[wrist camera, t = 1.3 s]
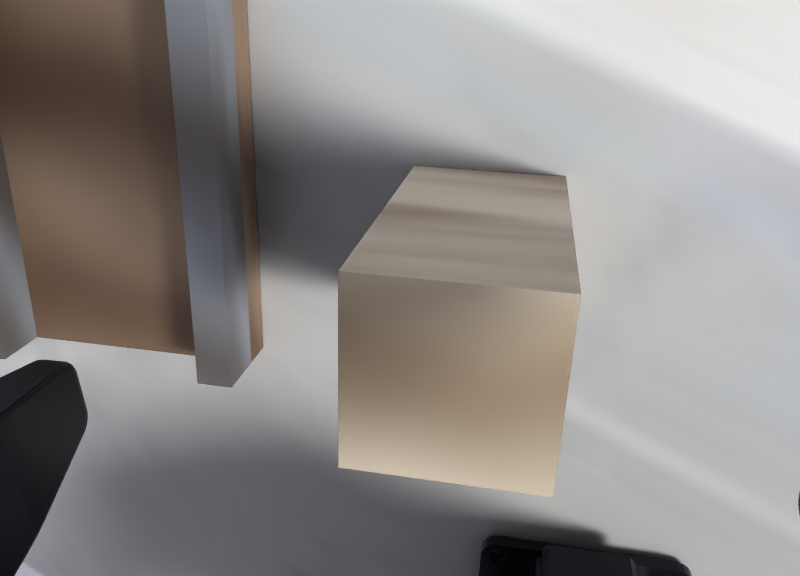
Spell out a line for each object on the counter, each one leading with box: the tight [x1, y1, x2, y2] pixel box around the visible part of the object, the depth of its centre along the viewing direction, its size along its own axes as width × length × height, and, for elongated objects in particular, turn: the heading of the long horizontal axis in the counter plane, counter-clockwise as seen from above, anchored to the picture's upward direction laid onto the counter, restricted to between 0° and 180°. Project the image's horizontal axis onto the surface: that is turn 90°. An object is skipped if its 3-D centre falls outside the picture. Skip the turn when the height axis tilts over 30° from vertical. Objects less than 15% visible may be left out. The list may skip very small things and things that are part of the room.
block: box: [338, 166, 581, 497], centre depth 16 cm, size 4×4×8 cm
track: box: [0, 0, 263, 387], centre depth 19 cm, size 14×10×2 cm
